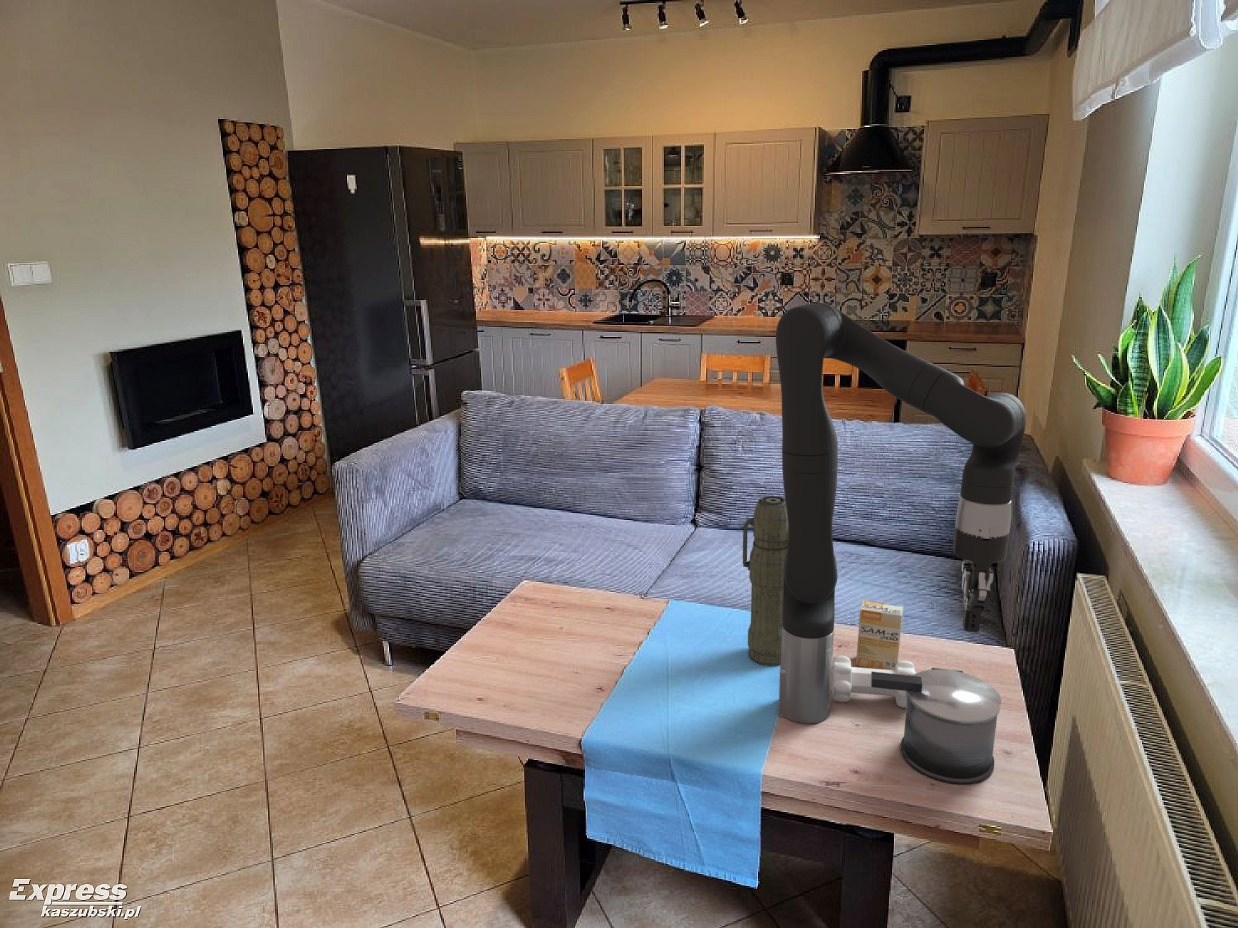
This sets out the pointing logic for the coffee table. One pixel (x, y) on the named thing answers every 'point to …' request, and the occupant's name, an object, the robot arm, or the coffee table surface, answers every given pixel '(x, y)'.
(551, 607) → the coffee table surface
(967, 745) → the cooker pot
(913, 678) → the cooker lid
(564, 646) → the coffee table surface
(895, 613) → the supplement box
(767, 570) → the thermos
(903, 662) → the white bone
